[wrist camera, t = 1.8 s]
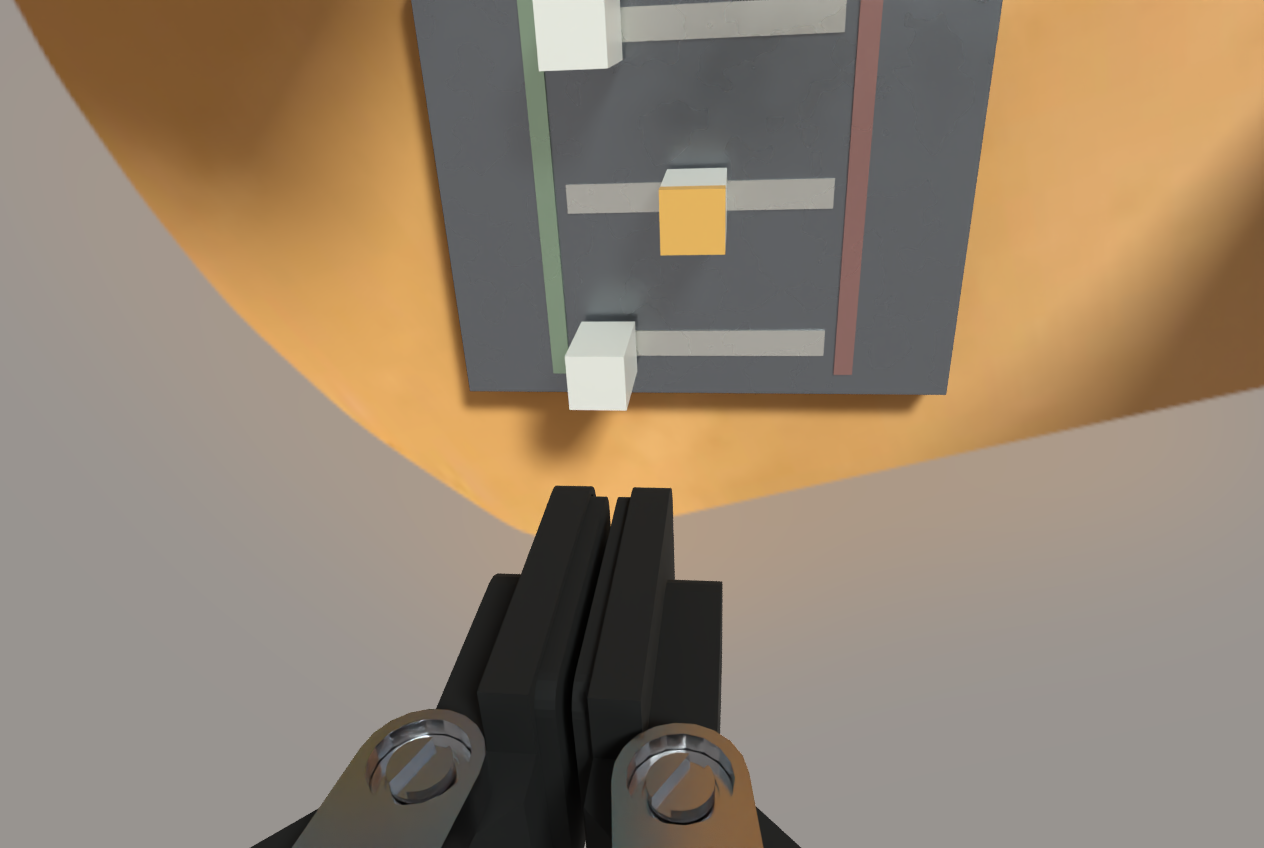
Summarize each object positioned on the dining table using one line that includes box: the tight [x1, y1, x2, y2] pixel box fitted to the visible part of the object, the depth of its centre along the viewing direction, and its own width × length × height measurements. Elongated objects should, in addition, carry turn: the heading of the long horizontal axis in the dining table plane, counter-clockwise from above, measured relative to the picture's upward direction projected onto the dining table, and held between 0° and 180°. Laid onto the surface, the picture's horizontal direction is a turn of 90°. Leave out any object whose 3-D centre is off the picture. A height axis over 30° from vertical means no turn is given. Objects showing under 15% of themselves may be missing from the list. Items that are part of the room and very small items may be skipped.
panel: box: [411, 0, 1003, 395], centre depth 35 cm, size 22×18×2 cm
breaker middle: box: [659, 168, 727, 255], centre depth 32 cm, size 2×2×4 cm
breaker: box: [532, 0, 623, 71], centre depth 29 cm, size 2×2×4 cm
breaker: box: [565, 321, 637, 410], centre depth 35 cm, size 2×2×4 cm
